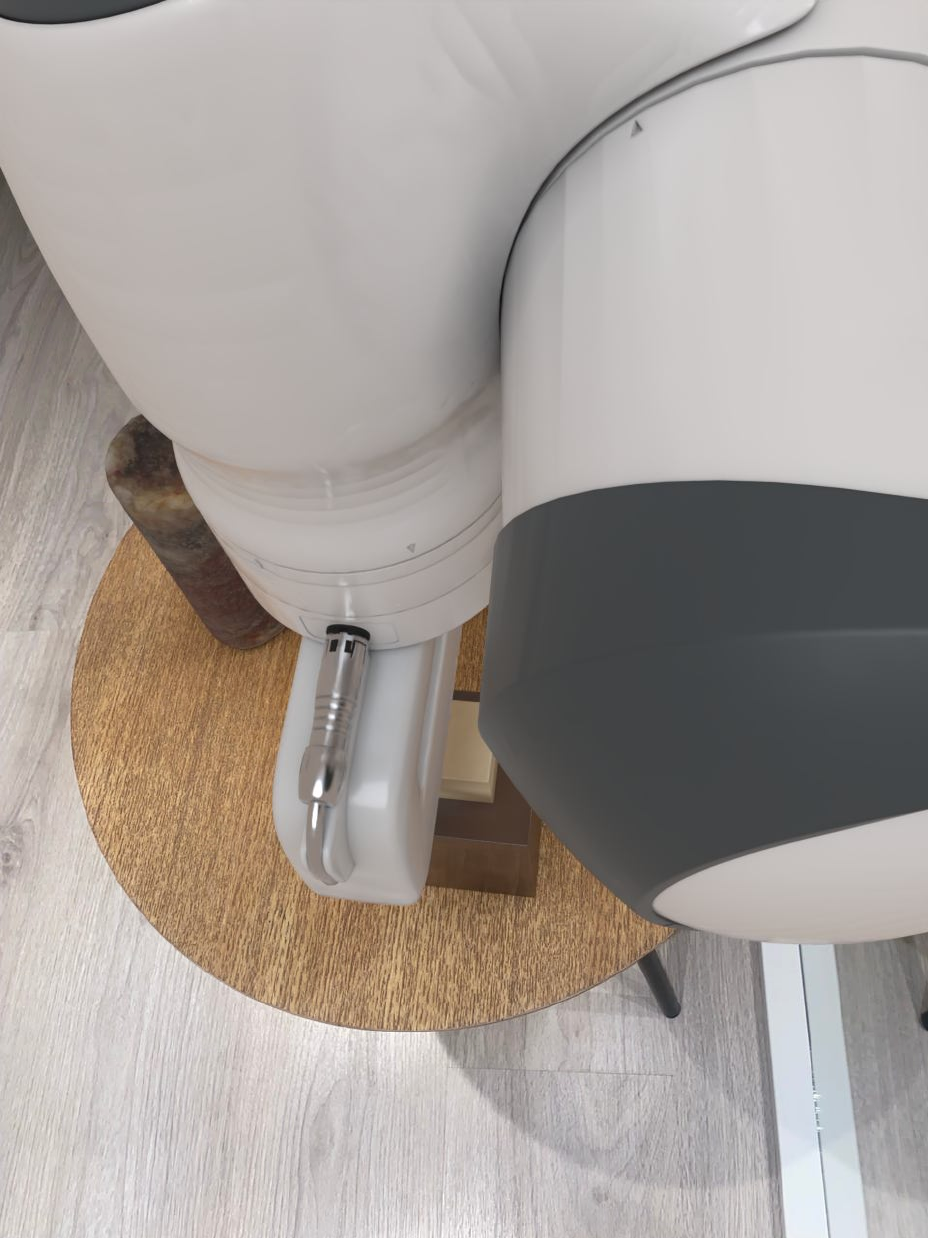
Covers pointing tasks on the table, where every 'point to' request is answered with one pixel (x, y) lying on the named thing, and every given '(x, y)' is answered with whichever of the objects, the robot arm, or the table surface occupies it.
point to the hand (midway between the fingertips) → (430, 669)
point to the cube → (467, 758)
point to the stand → (486, 839)
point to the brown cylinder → (183, 536)
